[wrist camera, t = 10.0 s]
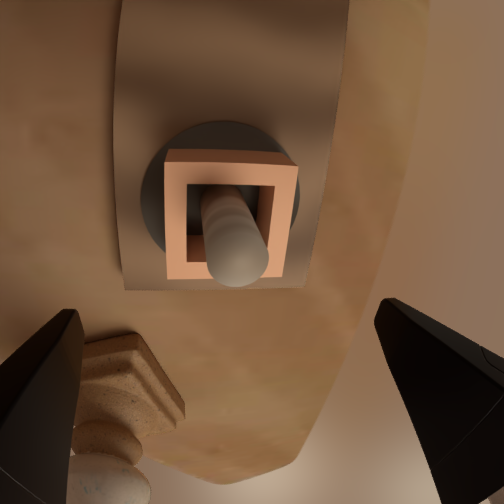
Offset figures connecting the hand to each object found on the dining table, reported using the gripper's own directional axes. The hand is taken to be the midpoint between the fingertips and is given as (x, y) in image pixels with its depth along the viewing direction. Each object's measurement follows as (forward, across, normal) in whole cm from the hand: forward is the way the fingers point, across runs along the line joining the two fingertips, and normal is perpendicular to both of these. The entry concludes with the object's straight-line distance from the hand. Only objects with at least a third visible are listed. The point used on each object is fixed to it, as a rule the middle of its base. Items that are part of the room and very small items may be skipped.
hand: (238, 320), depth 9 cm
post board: (+12, -1, -6) cm, 13 cm away
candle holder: (+12, +9, +18) cm, 24 cm away
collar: (+10, -1, 0) cm, 10 cm away
